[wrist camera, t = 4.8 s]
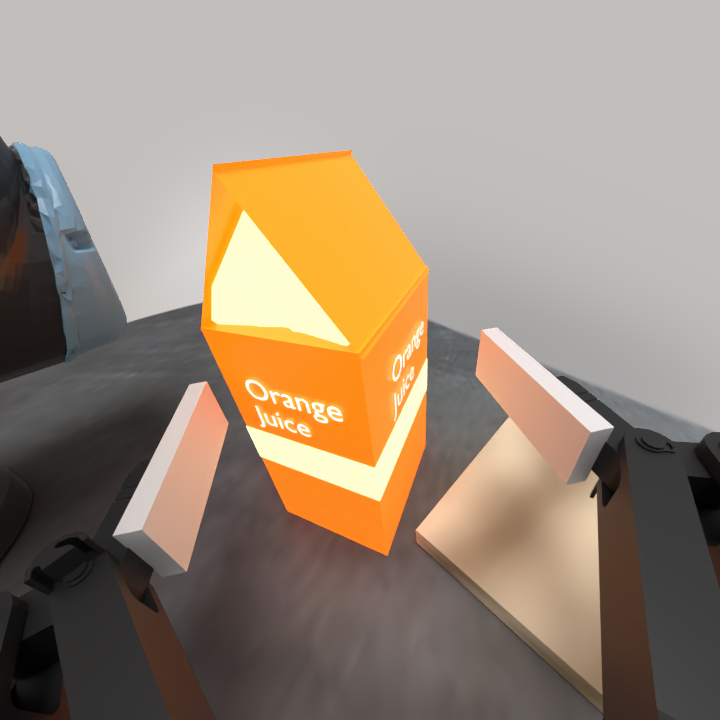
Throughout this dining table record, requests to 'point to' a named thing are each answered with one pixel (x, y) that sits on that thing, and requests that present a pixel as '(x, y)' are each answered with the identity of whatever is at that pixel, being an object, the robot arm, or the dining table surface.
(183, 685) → the robot arm
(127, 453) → the dining table surface
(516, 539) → the serving board
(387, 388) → the orange juice
